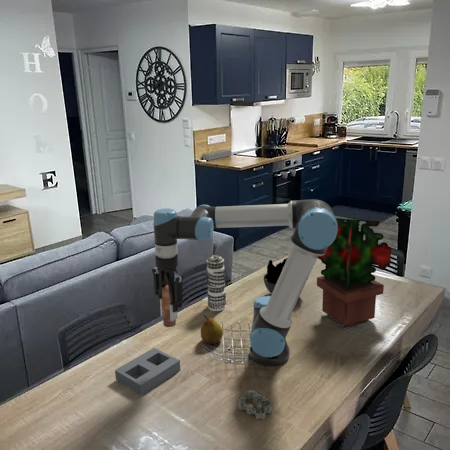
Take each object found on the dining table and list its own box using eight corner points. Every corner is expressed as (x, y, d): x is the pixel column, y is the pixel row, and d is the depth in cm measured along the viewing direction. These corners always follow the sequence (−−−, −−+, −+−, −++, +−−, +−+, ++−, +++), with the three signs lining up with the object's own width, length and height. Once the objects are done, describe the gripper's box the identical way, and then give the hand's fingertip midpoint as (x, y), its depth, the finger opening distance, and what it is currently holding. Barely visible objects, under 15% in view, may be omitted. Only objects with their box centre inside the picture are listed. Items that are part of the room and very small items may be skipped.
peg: (178, 323, 161) (177, 287, 157) (169, 328, 157) (167, 291, 153) (170, 319, 163) (168, 283, 159) (160, 324, 160) (158, 287, 156)
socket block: (180, 370, 166) (179, 360, 165) (141, 395, 152) (140, 385, 151) (154, 356, 174) (153, 347, 173) (115, 379, 161) (114, 370, 160)
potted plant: (343, 335, 185) (348, 230, 172) (311, 313, 204) (314, 216, 192) (385, 323, 193) (393, 222, 181) (351, 302, 213) (356, 209, 200)
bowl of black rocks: (311, 293, 224) (312, 257, 219) (294, 309, 208) (295, 271, 203) (274, 284, 235) (275, 250, 229) (256, 300, 219) (255, 263, 213)
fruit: (226, 337, 186) (225, 311, 183) (216, 349, 179) (215, 321, 175) (207, 333, 190) (206, 307, 187) (197, 344, 182) (195, 317, 179)
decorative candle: (229, 303, 216) (228, 254, 208) (223, 312, 207) (221, 261, 200) (211, 301, 219) (209, 252, 211) (204, 310, 210) (202, 259, 203)
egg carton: (234, 407, 146) (233, 396, 145) (249, 396, 151) (249, 385, 150) (260, 423, 139) (259, 411, 138) (275, 410, 144) (275, 399, 143)
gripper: (141, 251, 156) (144, 313, 162) (175, 264, 145) (178, 329, 151) (158, 246, 161) (160, 305, 168) (192, 257, 150) (194, 321, 157)
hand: (169, 317), depth 160 cm, fingers closed on peg, 4 cm apart
